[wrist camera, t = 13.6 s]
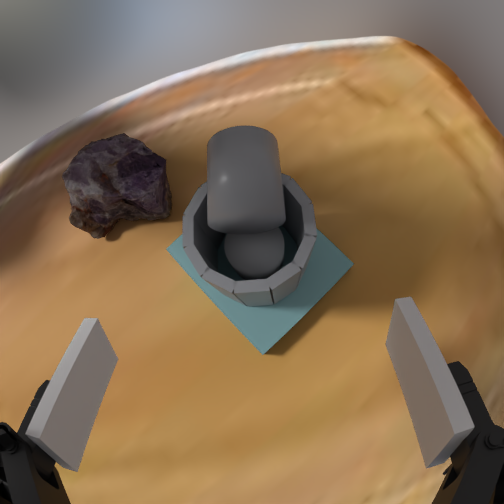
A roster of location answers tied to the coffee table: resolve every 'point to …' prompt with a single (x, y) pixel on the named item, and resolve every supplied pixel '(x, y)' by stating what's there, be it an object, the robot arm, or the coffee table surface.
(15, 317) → the coffee table surface
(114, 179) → the rock
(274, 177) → the elbow
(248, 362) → the coffee table surface
